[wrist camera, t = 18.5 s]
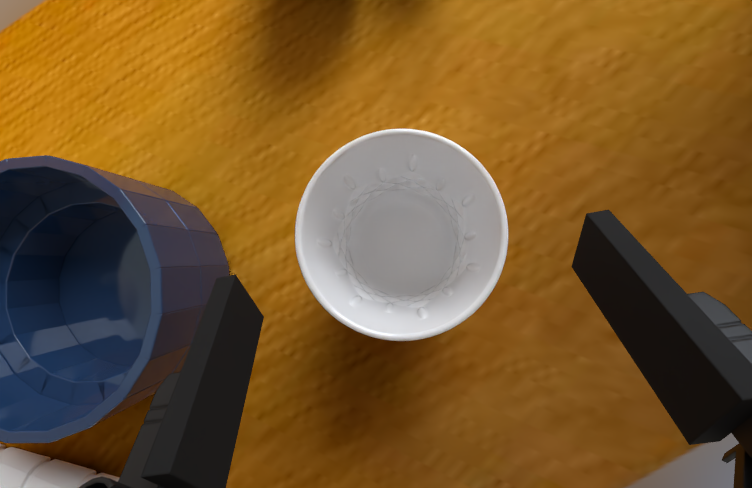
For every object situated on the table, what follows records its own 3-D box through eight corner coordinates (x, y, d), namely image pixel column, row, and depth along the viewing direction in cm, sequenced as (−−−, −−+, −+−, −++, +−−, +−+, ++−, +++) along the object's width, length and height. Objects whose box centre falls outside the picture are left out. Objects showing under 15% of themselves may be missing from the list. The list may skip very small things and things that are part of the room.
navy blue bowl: (272, 256, 24) (216, 255, 17) (159, 432, 24) (57, 504, 17) (112, 148, 25) (-2, 105, 18) (6, 314, 25) (-147, 335, 18)
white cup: (486, 268, 22) (550, 275, 12) (378, 327, 23) (357, 379, 13) (425, 162, 23) (439, 89, 13) (321, 221, 23) (258, 194, 13)
